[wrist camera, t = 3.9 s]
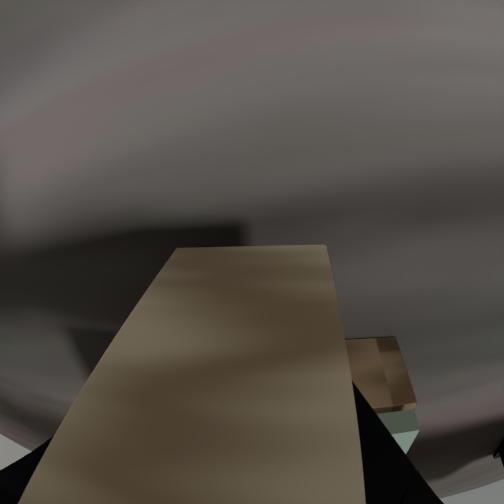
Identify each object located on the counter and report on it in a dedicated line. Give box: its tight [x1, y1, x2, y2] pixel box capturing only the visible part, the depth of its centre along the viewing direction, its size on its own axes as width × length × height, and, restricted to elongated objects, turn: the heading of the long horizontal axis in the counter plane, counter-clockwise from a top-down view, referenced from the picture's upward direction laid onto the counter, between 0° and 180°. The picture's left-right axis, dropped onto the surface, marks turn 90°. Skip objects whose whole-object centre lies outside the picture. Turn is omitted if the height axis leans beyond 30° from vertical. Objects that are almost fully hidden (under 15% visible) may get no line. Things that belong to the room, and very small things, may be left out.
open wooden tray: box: [345, 337, 417, 414], centre depth 16 cm, size 12×16×4 cm
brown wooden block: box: [18, 245, 366, 504], centre depth 7 cm, size 4×5×9 cm
